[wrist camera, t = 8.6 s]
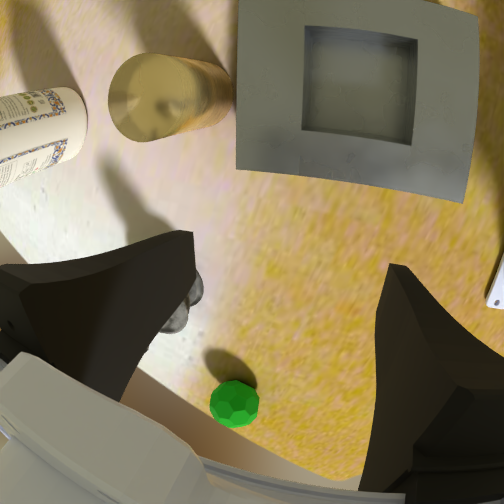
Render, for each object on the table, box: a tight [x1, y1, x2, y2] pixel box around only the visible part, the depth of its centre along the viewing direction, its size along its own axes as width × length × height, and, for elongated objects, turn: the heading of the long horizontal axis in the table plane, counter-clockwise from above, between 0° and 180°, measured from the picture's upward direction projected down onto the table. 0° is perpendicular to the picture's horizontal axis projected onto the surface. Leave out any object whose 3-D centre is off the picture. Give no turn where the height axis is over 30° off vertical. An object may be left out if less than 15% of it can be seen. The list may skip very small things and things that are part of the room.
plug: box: [108, 53, 234, 142], centre depth 16 cm, size 5×5×6 cm
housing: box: [236, 0, 479, 204], centre depth 14 cm, size 12×10×4 cm
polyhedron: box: [210, 380, 259, 428], centre depth 29 cm, size 5×5×5 cm
